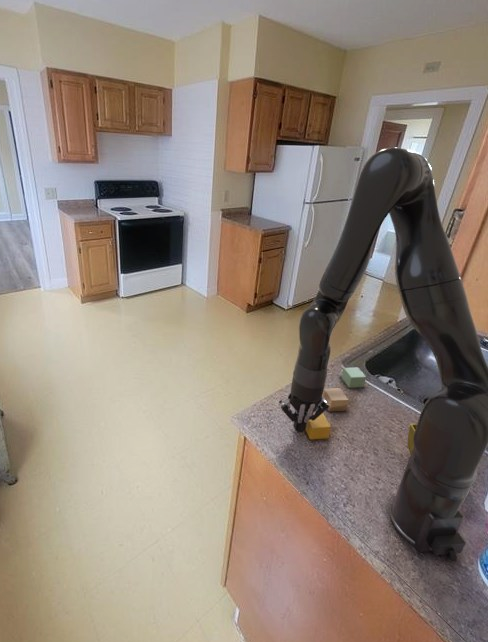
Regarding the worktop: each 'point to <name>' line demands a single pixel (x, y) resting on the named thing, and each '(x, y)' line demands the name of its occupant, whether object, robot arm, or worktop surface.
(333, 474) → the worktop surface
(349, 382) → the sage block
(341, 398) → the maple block
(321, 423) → the mustard block
